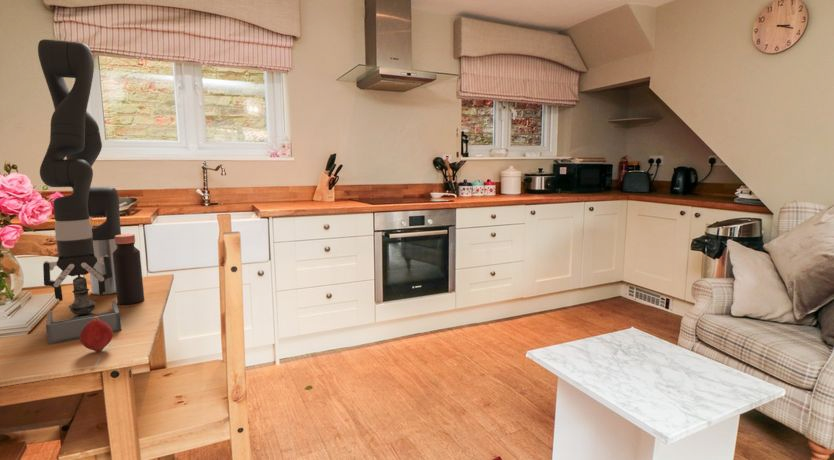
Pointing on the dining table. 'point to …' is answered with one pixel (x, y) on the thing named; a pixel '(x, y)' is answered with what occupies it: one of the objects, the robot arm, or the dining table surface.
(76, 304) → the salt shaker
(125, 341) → the dining table surface
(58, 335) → the box
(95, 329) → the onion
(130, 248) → the bottle
